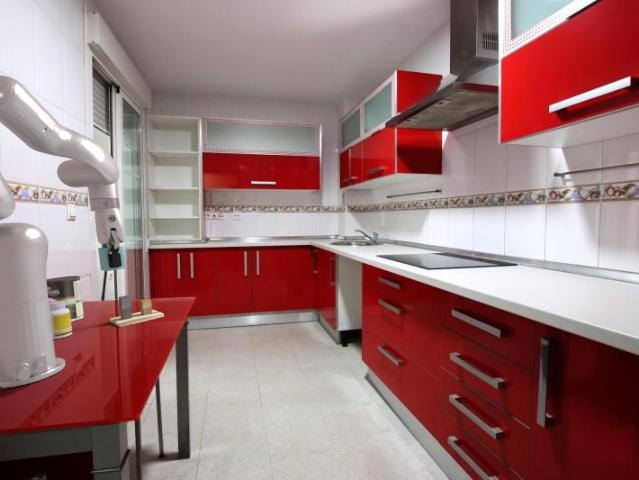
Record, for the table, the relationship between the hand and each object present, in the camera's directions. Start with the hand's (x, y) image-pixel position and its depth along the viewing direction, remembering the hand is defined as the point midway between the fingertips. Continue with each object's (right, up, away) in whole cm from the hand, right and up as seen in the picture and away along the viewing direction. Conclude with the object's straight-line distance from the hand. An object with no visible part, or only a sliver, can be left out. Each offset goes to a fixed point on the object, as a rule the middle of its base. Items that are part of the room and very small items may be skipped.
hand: (112, 265), depth 107 cm
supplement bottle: (-11, -20, -6) cm, 23 cm away
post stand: (+3, -18, +8) cm, 20 cm away
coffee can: (-23, -19, +14) cm, 33 cm away
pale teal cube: (0, -1, 0) cm, 1 cm away
